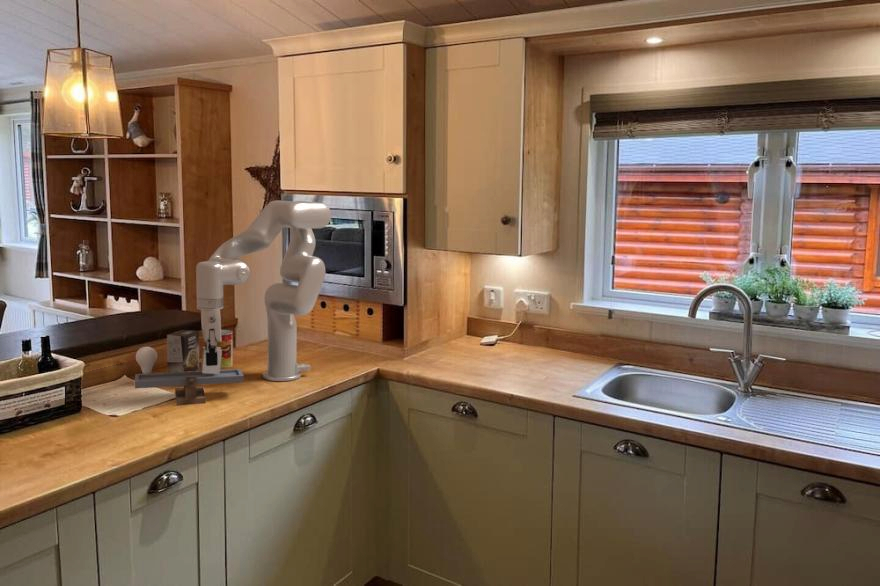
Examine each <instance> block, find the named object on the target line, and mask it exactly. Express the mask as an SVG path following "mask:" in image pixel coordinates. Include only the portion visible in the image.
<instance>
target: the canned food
mask: <svg viewBox="0 0 880 586" xmlns="http://www.w3.org/2000/svg"><path fill="white" fill-rule="evenodd" d="M221 338H222V341H221V342H219V341H217V339H216V342H217V347H220V348H221V350H222V356H221V366H220V369H227V368H231V367H233V365H234V364H233V363H234V362H233V361H234V359H233V356H234V355H233V351H234V349H233V348H234V347H233V345H234V343H233V339H234V338H233V331H232V330H229V329H221Z"/></svg>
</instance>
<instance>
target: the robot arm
mask: <svg viewBox="0 0 880 586" xmlns="http://www.w3.org/2000/svg"><path fill="white" fill-rule="evenodd" d="M331 218H332V211H331V209H330V207H329V206H328V205H327V204H325V203H323V202H318V201H317V202H316V201H306V200H305V201H303V200H295V201H293V200H292V201H291V200H278V199H277V200H272V201H270V202H269V203H268V204H266V206H264V208H263V209H262V210H261V212H260V213H259V214H258V215H257V216H256V218H255V219H254V220H253V221H252V222H251V223H250V225H249V226H248V227H247V228H246V229H245V230H244V231H242V232H240V233H238V234H236V235H234V236H233V237H232V238H230V239H228V240H227V241H225V242H223V243H222V244H221V245H220V246H219V247H217V249H216V250H215V251H214V253H213V254H212V255H211V256H210V257H209V259H208V260H206V261H200V262H198V263H197V264H196V267H195V268H196V269H195V272H196V273H195V274H196V277H195V278H196V286H195V287H196V309H197V310H198V311H199V310H200V317H201V319H200V320H201V334H202V339H203V342H204V346H207V352H206V365H207V366H215V365H217V364H218V358H217V342H216V339H217V341H219V342H221V341H222V338H221V330H222V319H221V318H222V316H221V310H222V309H224V286H227V285H229V286H238V285H241V284H242V285H243V284H244V283H245V282H247V281H248V279H249V277H250V273H251V271H250V268H249V266H248V265H247V264H246V263H245V262H243V261H242V260H239V259H241V258H242V257H244V256H247V255H250V254H255V253H258V252H261V251H264V250H265V249H267V248H268V247H270V245H271V244H272V242H273V241H274V240H275V239H276V238H277V236H278V235H279V234H280V233H281V232H282V231H283V229H284V228H287V229H288V228H289V230H290V240H289V243H288V247H287V249H286V252H285V254H284V257H283V260H282V262H281V265H280V268H279V274H280V277H281V278H282V279H283V280H285V281H288V282H291V283H296V284H297V285H294V284H291V283H290V284H289V283H282V282H277V283H273V284H271V285H269V286H268V288H267V289H265V290H266V291H265V292H264V297H263V299H264V305H265V311H266V319H267V354H266V355H267V356H266V357H267V358H266V359H267V364H266V365H267V370H265V371H264V372H262V377H263V379H265V380H267V381H271V382H272V381H273V382H287V381H288V382H290V381H294V380H297V379H299V378H300V377H302V371H304V372H305V371H311V369H312V368H311V364H306V363H300V364H299V363H298V362H297V344H298V343H297V338H298V337H297V334H298V333H297V332H298V331H297V329H298V326H297V324H298V323H297V320H296V317H295V316H300V317H301V316H307V315H308V314H310V313H311V311H312V310H313V309H314V307H315V305H316V302H317V300H318V297H319V295H320V292H321V289H322V286H323V284H324V281H325V278H326V266H325V263H324V261H323V259H321V258H320V257H318V256H315V255H314V252H315V249H316V243H317V241H316V238H315V237H316V236H315V234H314V232H313V229H322V228H325V227H326V226H328V225H329V223H330V222H331Z"/></svg>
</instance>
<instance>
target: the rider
mask: <svg viewBox="0 0 880 586" xmlns="http://www.w3.org/2000/svg"><path fill="white" fill-rule="evenodd" d="M206 352H207V346H205V345H204V346H202V355H201V364H200V371H202V373H209V374H220V370H221V368H220V366H221V356H222V350H221V348H220V347H217V358H218V364H217V365H215V366H207V365H206Z"/></svg>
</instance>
